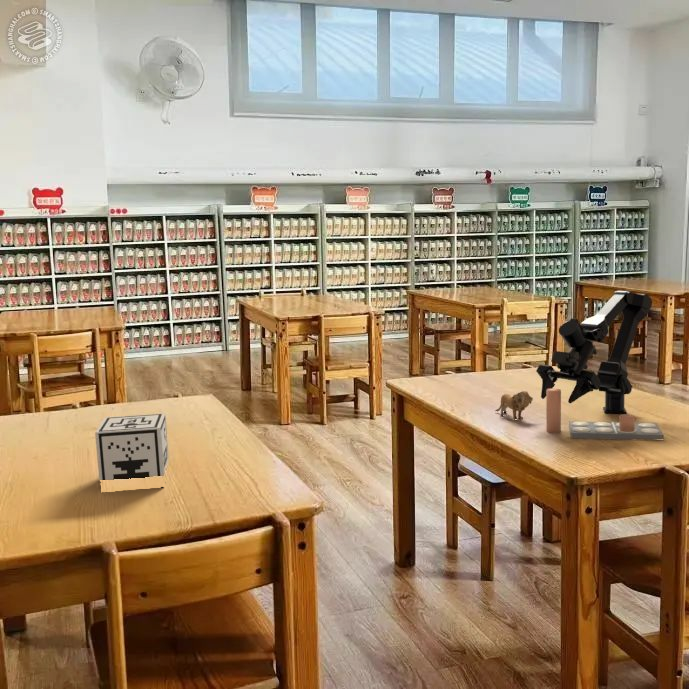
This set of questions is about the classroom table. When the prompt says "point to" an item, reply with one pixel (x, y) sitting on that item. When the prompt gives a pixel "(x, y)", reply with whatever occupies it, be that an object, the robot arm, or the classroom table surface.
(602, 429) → the pattern board
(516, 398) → the lion figurine
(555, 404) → the terracotta pin
